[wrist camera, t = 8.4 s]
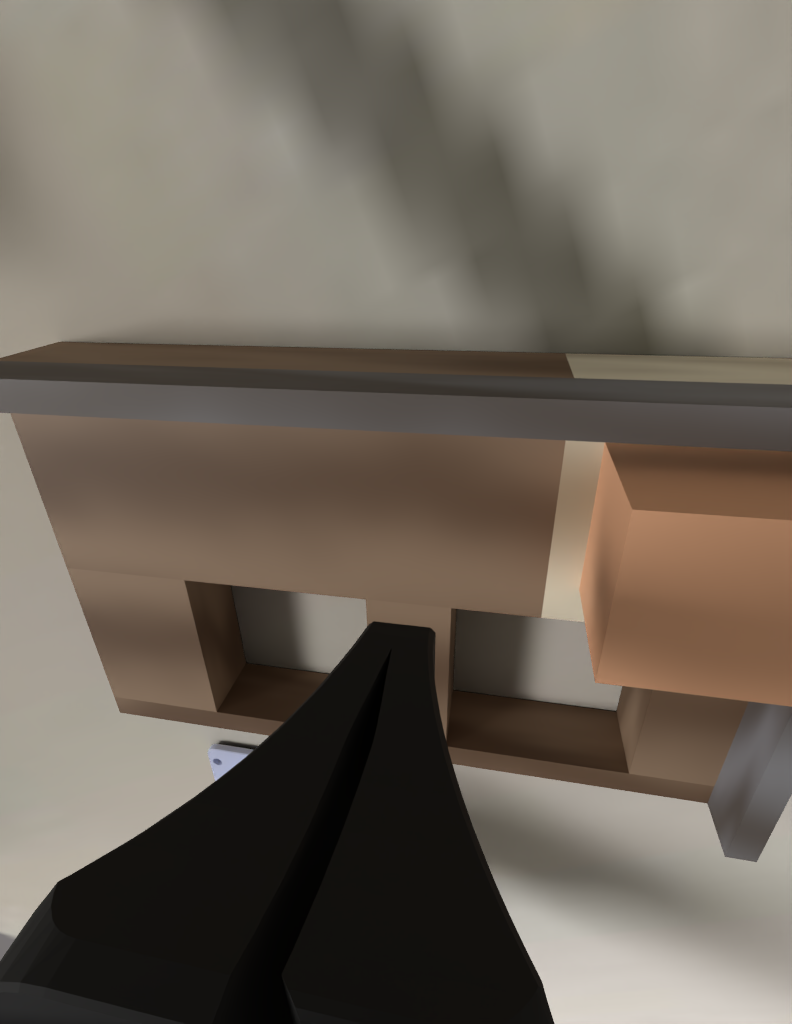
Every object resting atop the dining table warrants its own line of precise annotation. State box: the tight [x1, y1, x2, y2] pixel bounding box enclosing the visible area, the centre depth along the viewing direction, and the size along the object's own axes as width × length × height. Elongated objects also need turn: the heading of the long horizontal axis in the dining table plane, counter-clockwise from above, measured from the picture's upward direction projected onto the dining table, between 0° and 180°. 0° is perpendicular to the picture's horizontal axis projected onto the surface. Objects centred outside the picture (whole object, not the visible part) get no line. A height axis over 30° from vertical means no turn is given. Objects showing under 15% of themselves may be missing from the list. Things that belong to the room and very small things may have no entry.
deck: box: [0, 342, 792, 862], centre depth 19 cm, size 16×26×5 cm, turn 91°
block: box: [579, 442, 792, 707], centre depth 14 cm, size 5×5×4 cm
